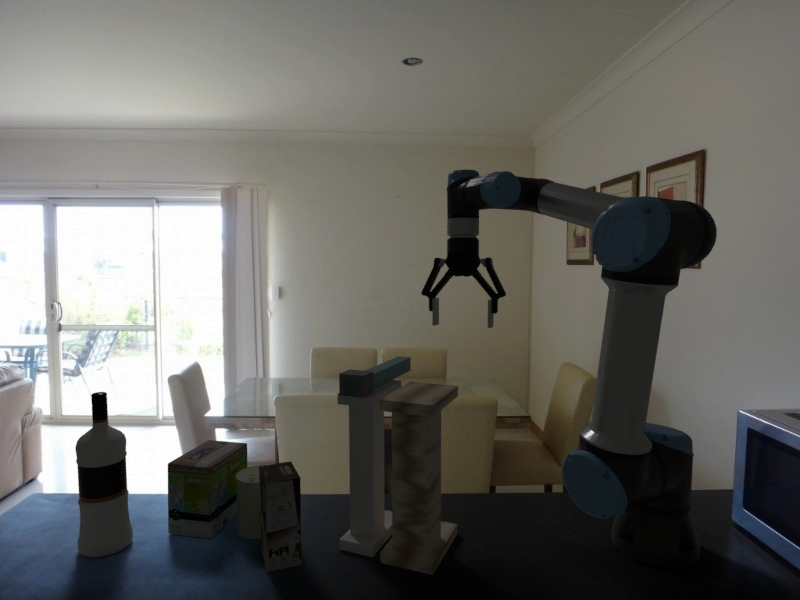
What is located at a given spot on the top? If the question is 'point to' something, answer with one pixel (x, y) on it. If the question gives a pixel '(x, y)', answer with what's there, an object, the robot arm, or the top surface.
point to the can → (248, 503)
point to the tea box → (204, 488)
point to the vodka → (102, 486)
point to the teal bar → (372, 377)
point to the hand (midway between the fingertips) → (462, 326)
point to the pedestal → (417, 477)
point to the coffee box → (280, 515)
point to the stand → (367, 473)
